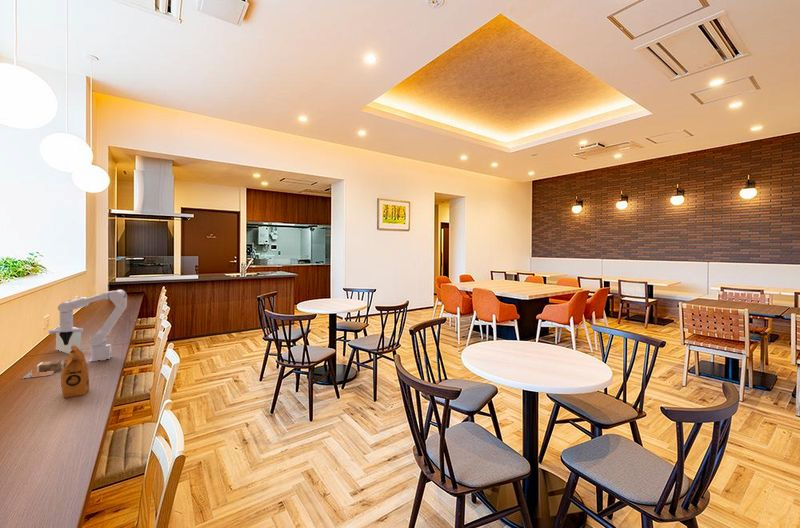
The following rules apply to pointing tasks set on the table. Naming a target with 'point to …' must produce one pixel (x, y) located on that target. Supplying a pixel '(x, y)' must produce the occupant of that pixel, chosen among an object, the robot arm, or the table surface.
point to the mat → (31, 375)
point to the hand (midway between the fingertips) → (66, 344)
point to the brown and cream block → (49, 366)
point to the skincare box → (74, 340)
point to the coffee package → (74, 374)
